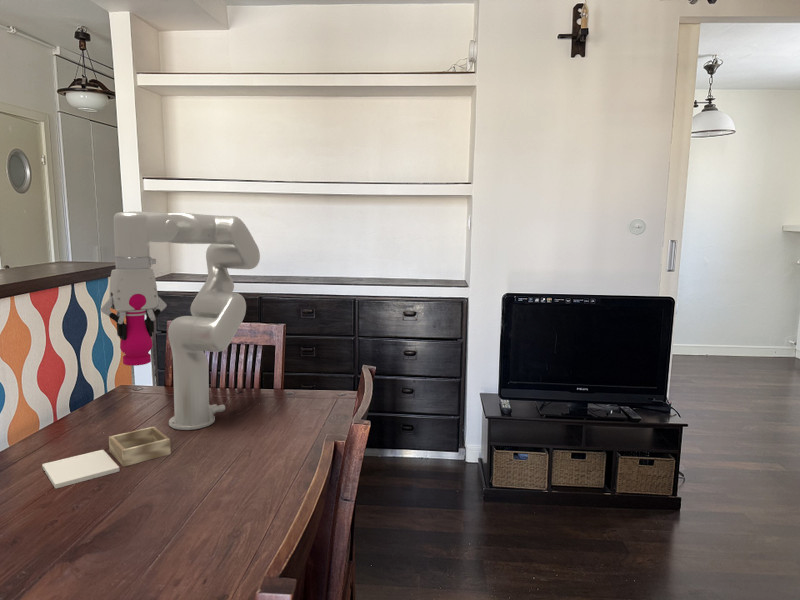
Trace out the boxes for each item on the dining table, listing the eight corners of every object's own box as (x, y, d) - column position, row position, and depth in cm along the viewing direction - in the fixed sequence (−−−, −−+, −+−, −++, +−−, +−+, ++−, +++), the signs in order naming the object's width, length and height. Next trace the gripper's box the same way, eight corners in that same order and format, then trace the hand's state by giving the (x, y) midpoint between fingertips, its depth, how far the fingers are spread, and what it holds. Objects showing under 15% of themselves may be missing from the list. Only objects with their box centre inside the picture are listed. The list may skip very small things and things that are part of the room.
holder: (154, 440, 144) (154, 426, 144) (170, 454, 136) (170, 439, 136) (109, 451, 137) (108, 436, 136) (123, 466, 129) (122, 450, 128)
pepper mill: (140, 367, 129) (136, 285, 126) (114, 364, 131) (110, 283, 128) (159, 360, 136) (156, 281, 133) (134, 357, 138) (130, 280, 135)
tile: (103, 453, 136) (102, 449, 135) (119, 471, 126) (119, 467, 126) (42, 468, 127) (42, 464, 126) (55, 488, 117) (55, 484, 117)
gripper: (163, 261, 138) (165, 330, 141) (89, 263, 127) (93, 339, 129) (174, 264, 133) (177, 335, 136) (98, 266, 121) (102, 345, 124)
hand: (136, 336), depth 132 cm, fingers closed on pepper mill, 5 cm apart
